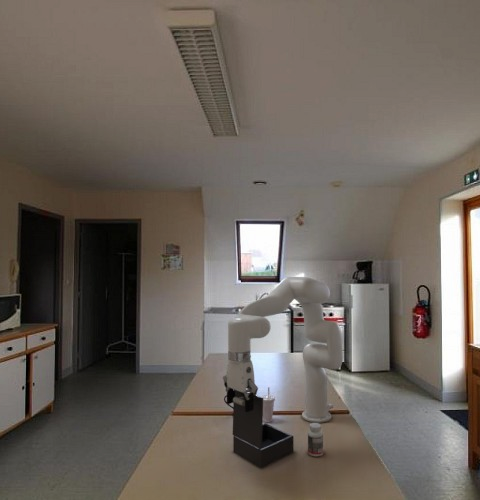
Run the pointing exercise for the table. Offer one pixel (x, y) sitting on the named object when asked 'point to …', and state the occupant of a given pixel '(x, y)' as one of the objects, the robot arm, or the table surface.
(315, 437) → the pill bottle
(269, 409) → the smoothie
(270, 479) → the table surface
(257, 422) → the lid
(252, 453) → the dark grey storage bin
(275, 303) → the robot arm
